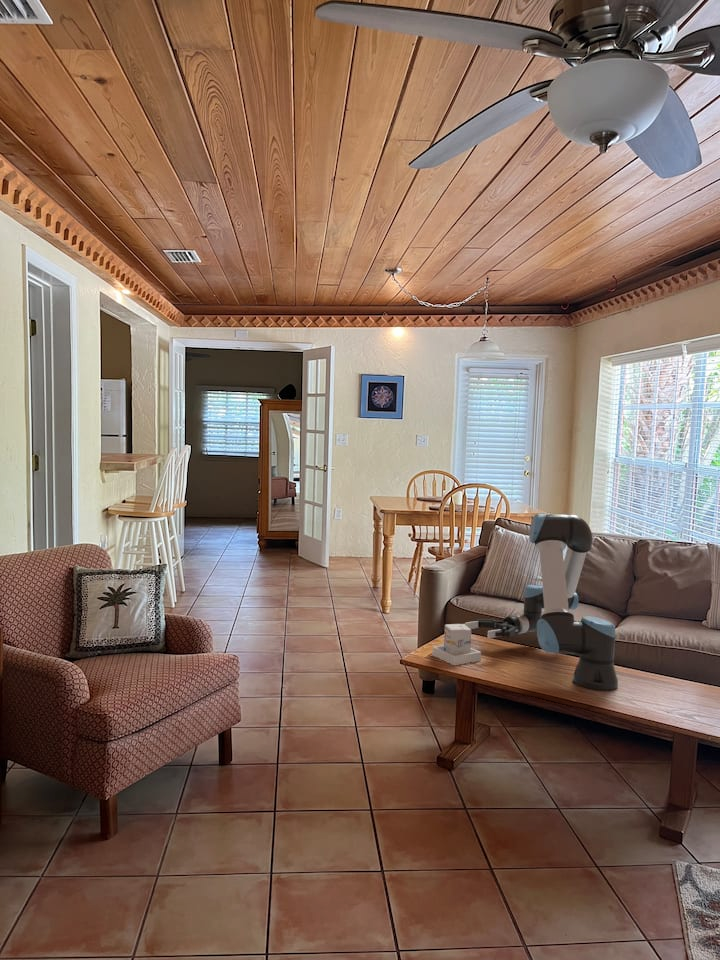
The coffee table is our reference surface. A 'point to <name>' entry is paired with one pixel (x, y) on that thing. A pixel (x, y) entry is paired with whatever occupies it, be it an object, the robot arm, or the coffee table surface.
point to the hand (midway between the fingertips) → (476, 630)
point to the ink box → (457, 639)
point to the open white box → (456, 660)
